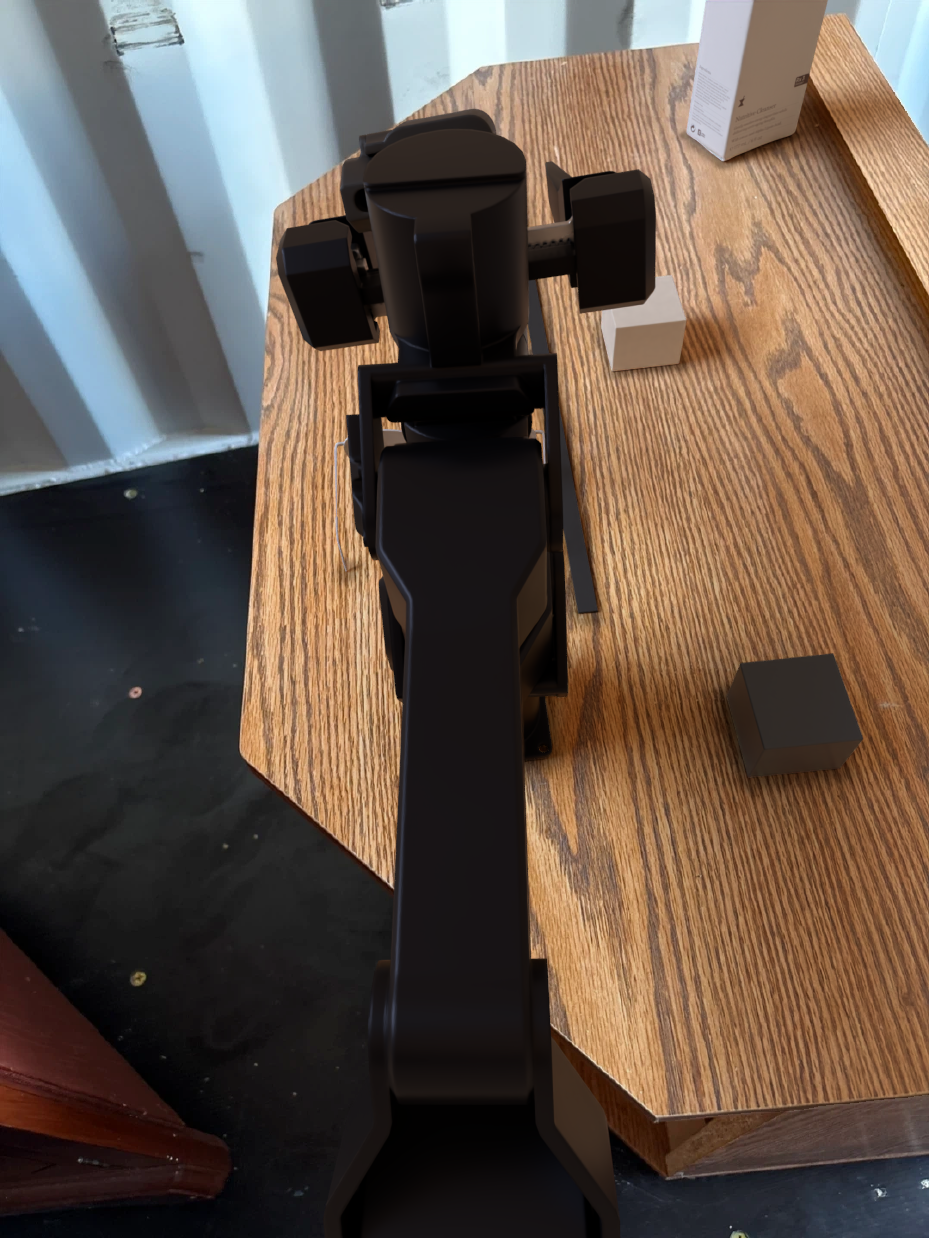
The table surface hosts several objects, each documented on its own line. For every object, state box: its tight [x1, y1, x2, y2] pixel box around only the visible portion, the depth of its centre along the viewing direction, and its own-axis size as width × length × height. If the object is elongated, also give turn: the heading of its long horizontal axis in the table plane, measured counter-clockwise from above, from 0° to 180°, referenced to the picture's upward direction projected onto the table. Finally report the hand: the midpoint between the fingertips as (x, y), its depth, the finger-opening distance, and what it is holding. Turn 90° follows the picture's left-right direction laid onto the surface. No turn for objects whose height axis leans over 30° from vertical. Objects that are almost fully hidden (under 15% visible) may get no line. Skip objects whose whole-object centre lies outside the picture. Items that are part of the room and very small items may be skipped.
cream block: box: [600, 274, 688, 372], centre depth 62 cm, size 5×5×4 cm
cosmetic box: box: [685, 0, 829, 162], centre depth 71 cm, size 8×6×15 cm
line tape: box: [527, 280, 599, 615], centre depth 65 cm, size 50×1×1 cm, turn 4°
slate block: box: [726, 652, 864, 779], centre depth 46 cm, size 5×5×4 cm
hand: (468, 184), depth 49 cm, fingers open, 9 cm apart
